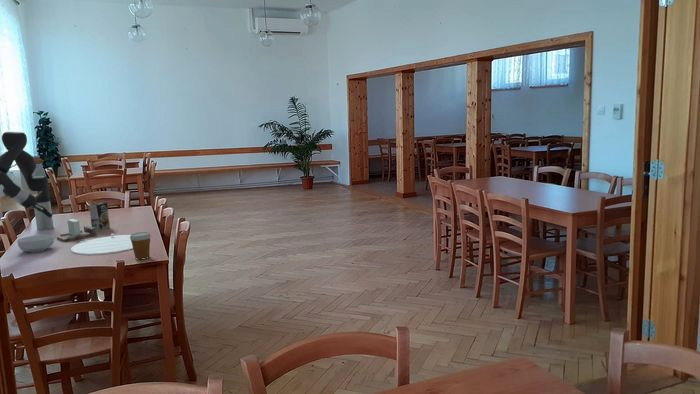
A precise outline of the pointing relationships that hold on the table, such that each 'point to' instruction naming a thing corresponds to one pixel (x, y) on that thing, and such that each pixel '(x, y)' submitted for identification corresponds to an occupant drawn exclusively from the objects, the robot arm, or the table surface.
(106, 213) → the coffee box
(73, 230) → the pale green rectangular block
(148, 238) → the beer glass
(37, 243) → the cereal bowl
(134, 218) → the table surface
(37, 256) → the table surface
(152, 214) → the table surface
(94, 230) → the track
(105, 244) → the lazy susan
